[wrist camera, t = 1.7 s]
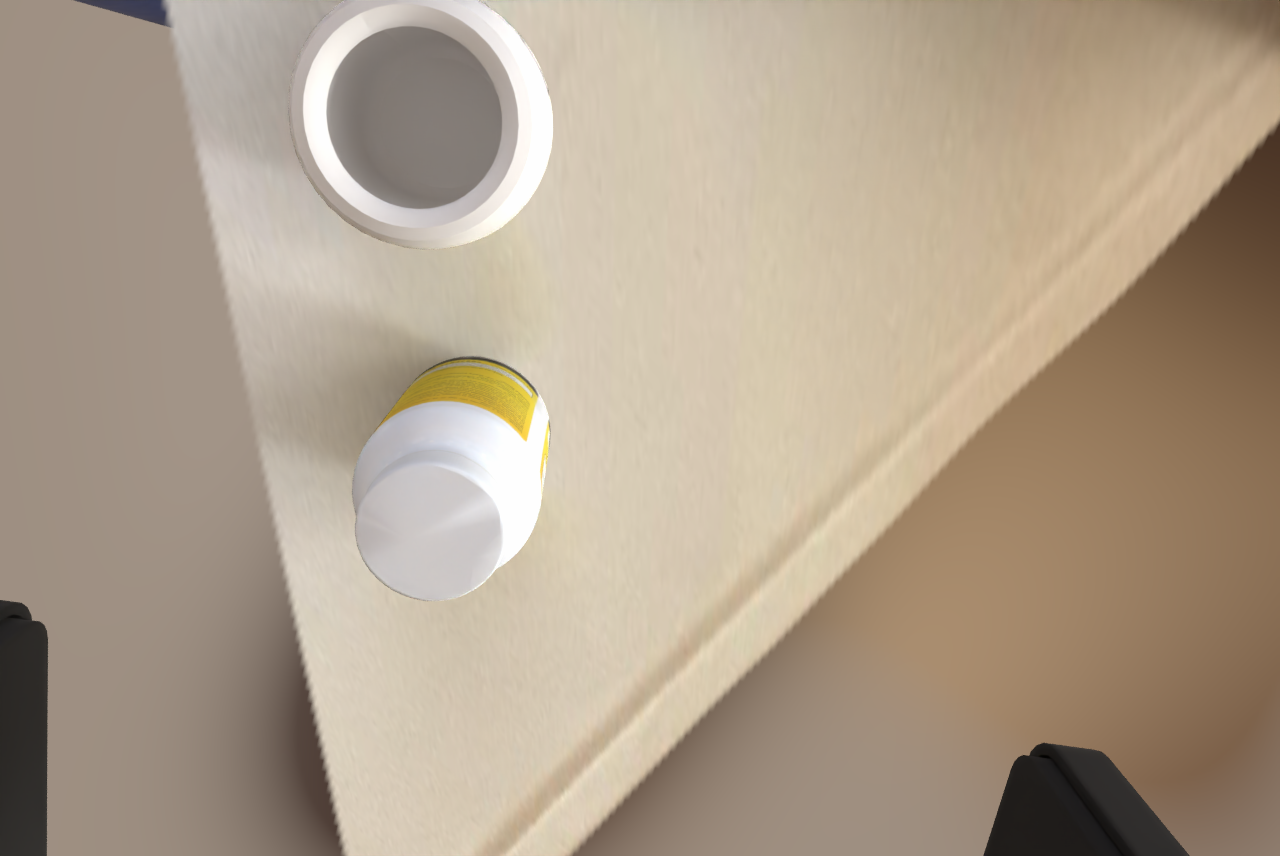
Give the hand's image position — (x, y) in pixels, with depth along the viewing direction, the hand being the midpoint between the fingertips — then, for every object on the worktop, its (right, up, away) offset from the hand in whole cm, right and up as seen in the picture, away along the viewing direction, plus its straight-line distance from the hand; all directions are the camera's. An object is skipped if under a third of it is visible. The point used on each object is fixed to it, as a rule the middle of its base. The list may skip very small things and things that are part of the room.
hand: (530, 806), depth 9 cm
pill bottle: (-6, +4, +32) cm, 32 cm away
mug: (-7, +17, +28) cm, 33 cm away
